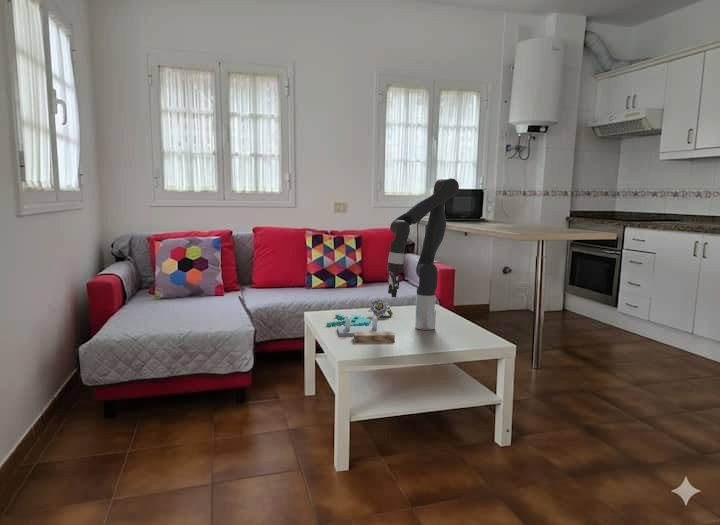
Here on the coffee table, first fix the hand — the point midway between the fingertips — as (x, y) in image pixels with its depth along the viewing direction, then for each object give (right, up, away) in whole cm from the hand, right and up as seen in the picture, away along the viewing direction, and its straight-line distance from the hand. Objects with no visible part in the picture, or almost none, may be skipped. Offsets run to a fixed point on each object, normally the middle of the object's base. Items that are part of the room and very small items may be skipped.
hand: (391, 295), depth 233 cm
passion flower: (-4, -14, +33) cm, 36 cm away
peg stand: (-15, -18, 0) cm, 23 cm away
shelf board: (-9, -20, -12) cm, 25 cm away
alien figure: (-20, -16, +17) cm, 31 cm away
